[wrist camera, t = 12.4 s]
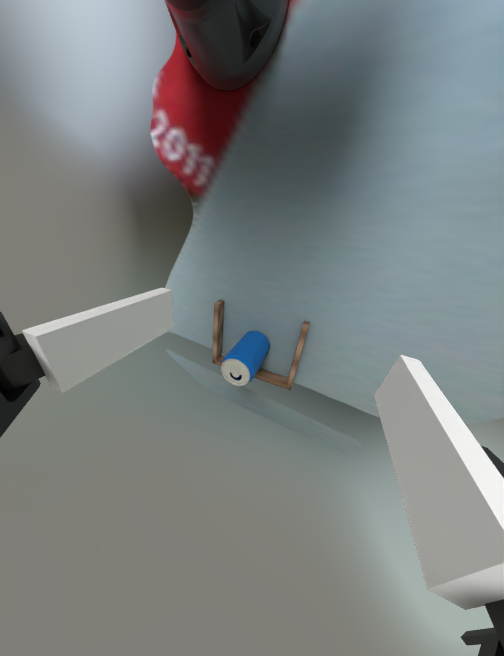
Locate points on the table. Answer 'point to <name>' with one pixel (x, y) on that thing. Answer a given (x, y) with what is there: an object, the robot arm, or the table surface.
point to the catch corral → (260, 373)
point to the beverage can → (245, 358)
